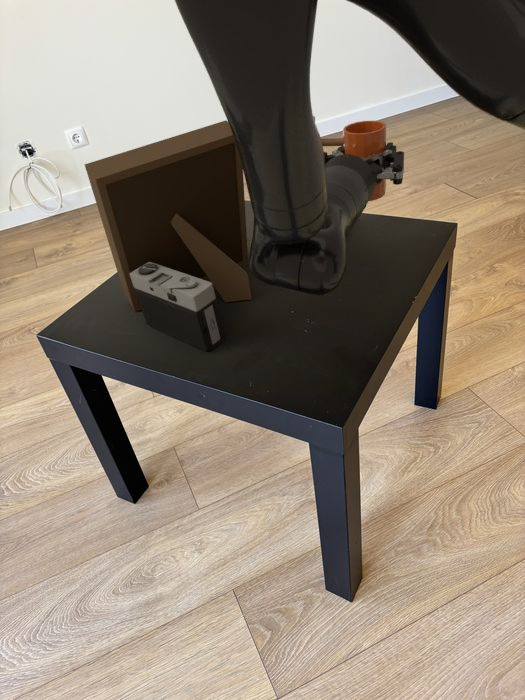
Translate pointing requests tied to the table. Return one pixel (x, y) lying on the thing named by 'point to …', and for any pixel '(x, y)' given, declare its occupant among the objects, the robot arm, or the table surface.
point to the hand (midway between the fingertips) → (368, 149)
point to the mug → (366, 145)
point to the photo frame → (177, 209)
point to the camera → (179, 305)
